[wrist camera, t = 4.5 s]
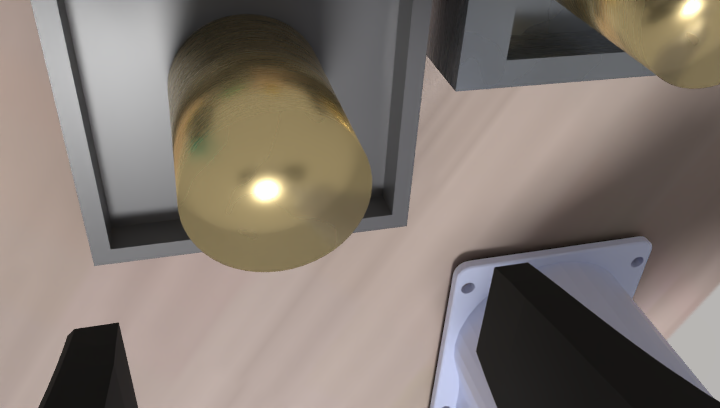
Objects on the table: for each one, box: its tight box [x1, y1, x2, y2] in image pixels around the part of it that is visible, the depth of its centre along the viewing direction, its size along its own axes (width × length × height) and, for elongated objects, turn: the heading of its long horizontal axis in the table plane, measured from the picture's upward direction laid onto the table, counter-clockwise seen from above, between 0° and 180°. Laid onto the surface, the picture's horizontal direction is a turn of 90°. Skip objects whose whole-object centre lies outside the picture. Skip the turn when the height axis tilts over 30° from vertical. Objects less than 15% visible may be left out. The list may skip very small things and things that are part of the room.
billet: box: [167, 14, 372, 272], centre depth 16 cm, size 4×4×5 cm
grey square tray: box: [31, 0, 432, 266], centre depth 18 cm, size 9×9×2 cm
